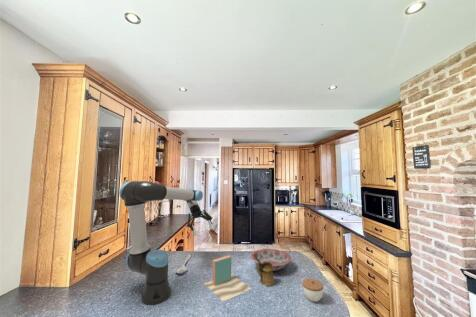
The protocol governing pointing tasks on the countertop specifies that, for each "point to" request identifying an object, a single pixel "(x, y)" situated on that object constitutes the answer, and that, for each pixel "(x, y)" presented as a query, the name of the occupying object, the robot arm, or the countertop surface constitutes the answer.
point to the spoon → (183, 265)
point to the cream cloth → (228, 288)
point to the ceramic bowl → (272, 258)
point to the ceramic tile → (221, 270)
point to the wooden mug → (265, 273)
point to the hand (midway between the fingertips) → (204, 231)
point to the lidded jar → (312, 289)
